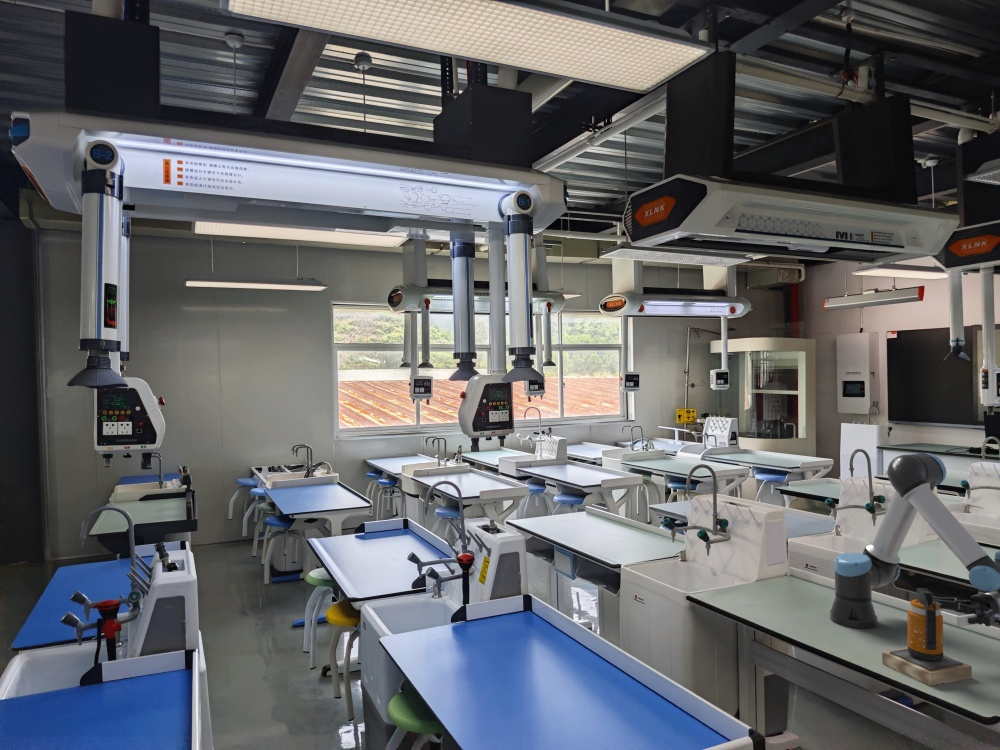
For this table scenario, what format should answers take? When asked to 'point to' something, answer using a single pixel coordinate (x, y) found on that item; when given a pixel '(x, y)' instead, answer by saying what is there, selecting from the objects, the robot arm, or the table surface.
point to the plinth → (927, 667)
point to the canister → (925, 627)
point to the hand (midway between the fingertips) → (936, 613)
